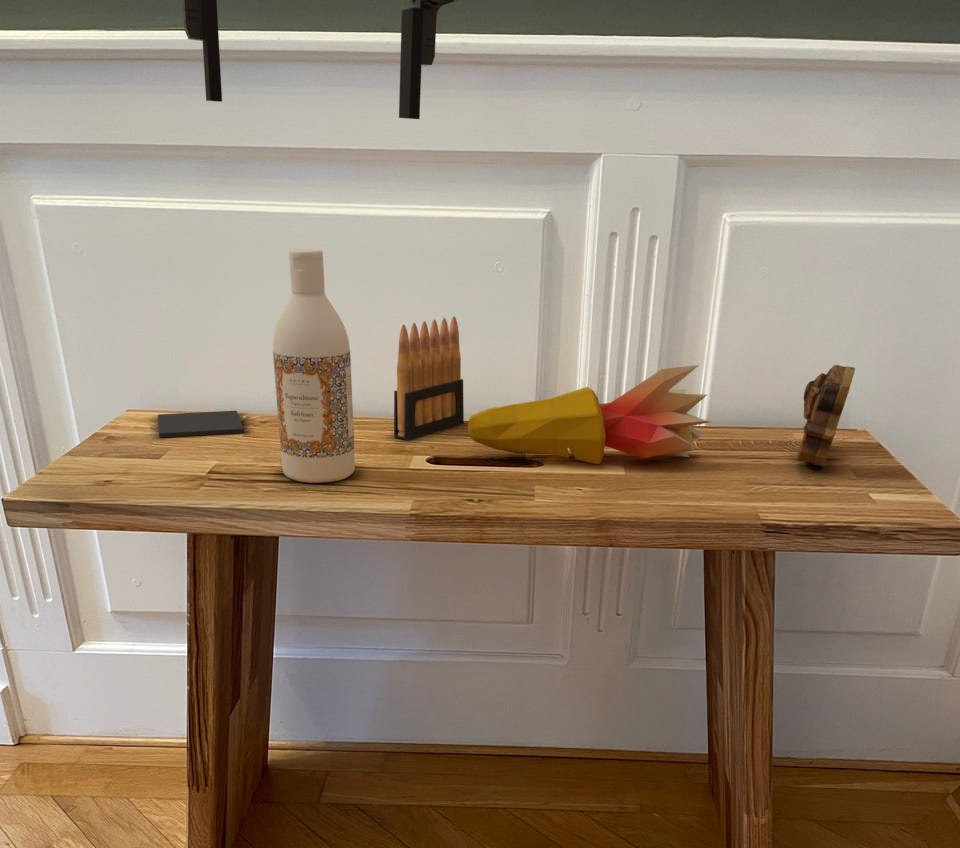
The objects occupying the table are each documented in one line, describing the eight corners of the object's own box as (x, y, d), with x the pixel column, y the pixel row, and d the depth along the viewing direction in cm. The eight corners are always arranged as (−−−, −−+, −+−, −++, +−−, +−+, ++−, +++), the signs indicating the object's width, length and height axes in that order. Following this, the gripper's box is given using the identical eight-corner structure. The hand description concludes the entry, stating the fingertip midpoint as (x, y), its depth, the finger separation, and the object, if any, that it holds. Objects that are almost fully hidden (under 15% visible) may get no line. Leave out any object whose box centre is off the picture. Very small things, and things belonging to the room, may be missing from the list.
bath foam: (270, 481, 86) (250, 251, 77) (299, 461, 92) (284, 246, 83) (340, 487, 84) (328, 254, 75) (365, 467, 90) (356, 249, 81)
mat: (159, 437, 99) (158, 433, 98) (158, 418, 106) (157, 414, 106) (244, 432, 101) (243, 428, 101) (237, 414, 109) (236, 410, 109)
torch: (474, 488, 97) (707, 459, 97) (474, 473, 89) (727, 442, 89) (465, 412, 97) (697, 383, 97) (464, 390, 89) (716, 359, 89)
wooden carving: (792, 441, 103) (808, 350, 99) (834, 445, 102) (853, 353, 98) (790, 481, 89) (809, 377, 85) (839, 486, 88) (861, 381, 84)
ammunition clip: (406, 440, 100) (404, 326, 94) (393, 437, 101) (391, 324, 95) (464, 422, 108) (465, 316, 102) (451, 420, 109) (452, 314, 103)
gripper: (487, -244, 60) (465, 124, 70) (78, -341, 52) (122, 93, 62) (531, -283, 54) (501, 126, 64) (76, -399, 46) (125, 92, 56)
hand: (315, 110), depth 63 cm, fingers open, 13 cm apart
